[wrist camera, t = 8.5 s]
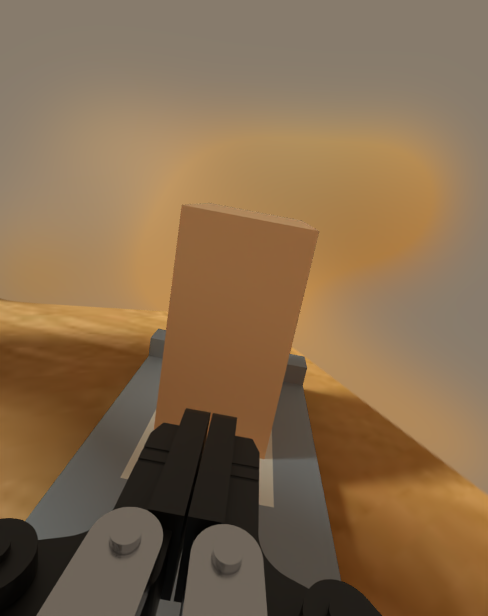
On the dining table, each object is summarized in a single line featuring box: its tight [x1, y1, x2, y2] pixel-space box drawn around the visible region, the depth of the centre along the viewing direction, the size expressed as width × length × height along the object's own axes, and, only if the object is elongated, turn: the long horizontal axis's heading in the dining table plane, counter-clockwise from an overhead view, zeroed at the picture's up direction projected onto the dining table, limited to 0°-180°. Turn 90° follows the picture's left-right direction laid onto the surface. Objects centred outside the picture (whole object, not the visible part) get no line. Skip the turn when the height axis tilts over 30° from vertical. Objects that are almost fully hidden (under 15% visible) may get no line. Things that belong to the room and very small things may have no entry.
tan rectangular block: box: [154, 203, 319, 459], centre depth 21 cm, size 8×6×12 cm
